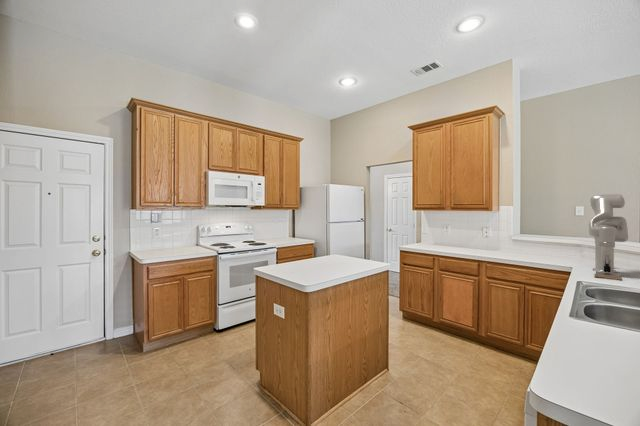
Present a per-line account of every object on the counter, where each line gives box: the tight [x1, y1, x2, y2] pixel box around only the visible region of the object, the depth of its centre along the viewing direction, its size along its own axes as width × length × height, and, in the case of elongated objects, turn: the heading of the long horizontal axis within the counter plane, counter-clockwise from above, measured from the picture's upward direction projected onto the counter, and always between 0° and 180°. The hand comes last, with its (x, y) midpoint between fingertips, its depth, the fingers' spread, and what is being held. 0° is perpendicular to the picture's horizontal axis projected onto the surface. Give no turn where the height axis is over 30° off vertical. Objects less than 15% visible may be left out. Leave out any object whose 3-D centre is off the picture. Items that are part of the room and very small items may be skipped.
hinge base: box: [594, 273, 623, 282], centre depth 181 cm, size 13×12×2 cm
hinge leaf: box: [595, 271, 620, 276], centre depth 189 cm, size 13×11×2 cm
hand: (607, 272), depth 191 cm, fingers closed
